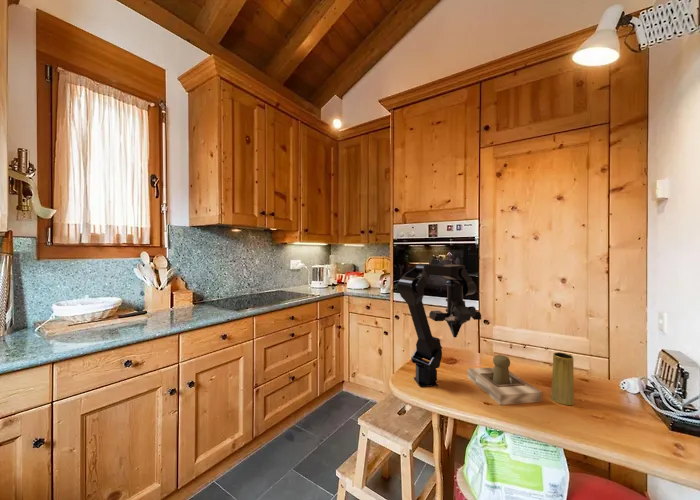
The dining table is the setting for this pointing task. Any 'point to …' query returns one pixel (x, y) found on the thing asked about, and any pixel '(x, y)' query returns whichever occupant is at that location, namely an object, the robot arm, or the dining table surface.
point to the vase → (562, 379)
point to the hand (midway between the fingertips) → (454, 337)
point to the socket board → (505, 387)
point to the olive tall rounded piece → (501, 370)
